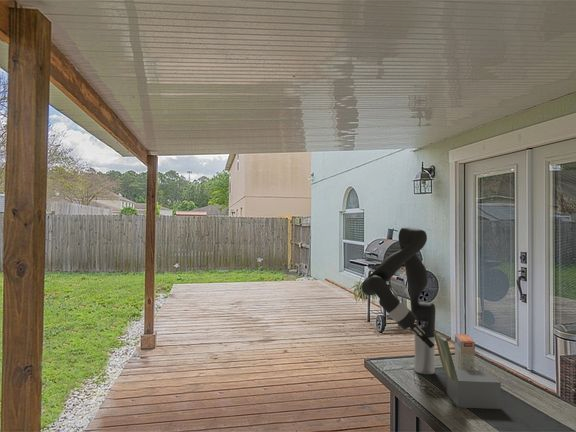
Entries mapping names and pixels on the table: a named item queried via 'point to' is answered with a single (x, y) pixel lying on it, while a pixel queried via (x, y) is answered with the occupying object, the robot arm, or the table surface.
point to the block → (475, 389)
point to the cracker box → (464, 352)
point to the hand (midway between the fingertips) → (432, 346)
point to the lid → (445, 356)
